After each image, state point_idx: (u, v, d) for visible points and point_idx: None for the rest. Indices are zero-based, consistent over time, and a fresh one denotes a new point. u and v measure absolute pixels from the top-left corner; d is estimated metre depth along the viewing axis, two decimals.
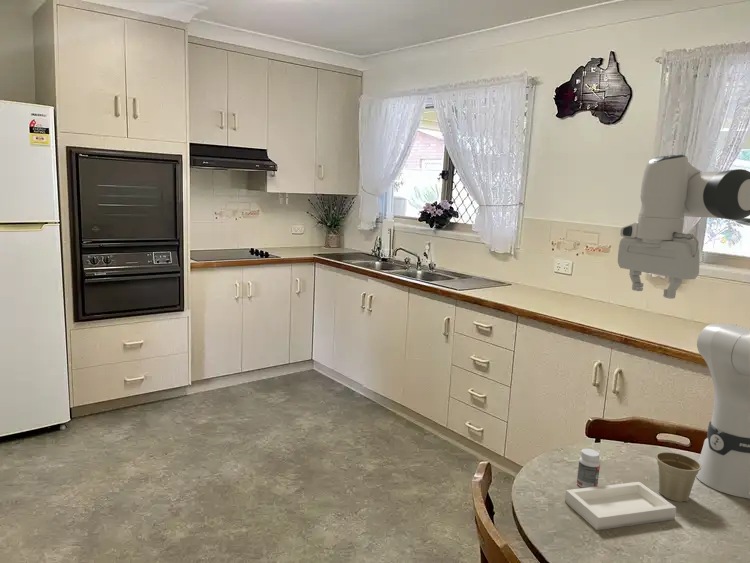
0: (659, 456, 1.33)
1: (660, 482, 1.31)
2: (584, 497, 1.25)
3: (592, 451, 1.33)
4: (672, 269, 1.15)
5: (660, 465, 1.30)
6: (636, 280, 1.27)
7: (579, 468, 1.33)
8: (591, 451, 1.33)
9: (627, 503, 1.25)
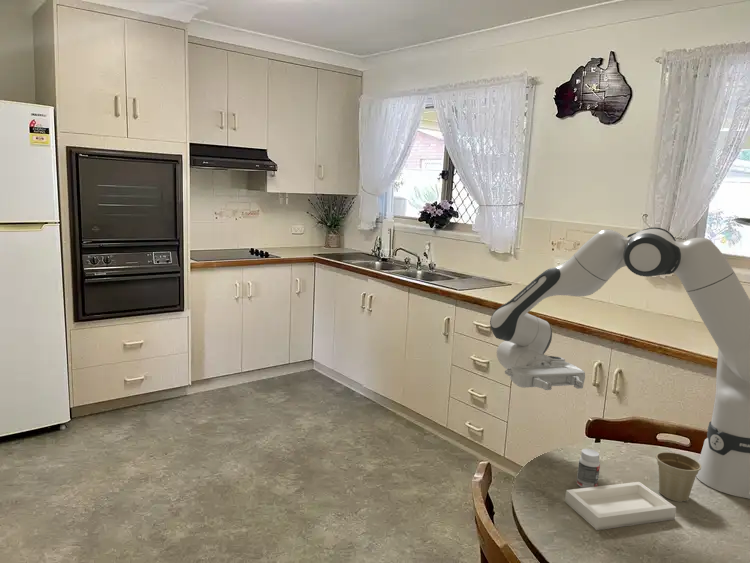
0: (659, 456, 1.33)
1: (660, 482, 1.31)
2: (584, 497, 1.25)
3: (592, 451, 1.33)
4: None
5: (660, 465, 1.30)
6: None
7: (579, 468, 1.33)
8: (591, 451, 1.33)
9: (627, 503, 1.25)
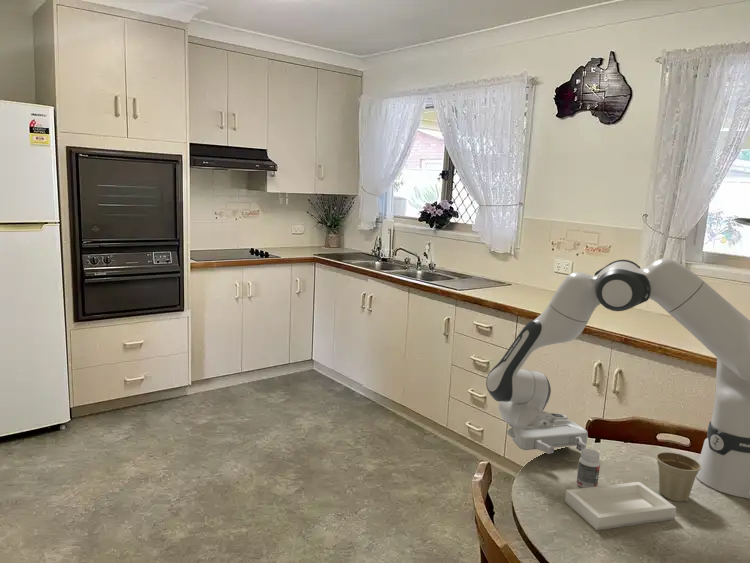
0: (659, 456, 1.33)
1: (660, 482, 1.31)
2: (584, 497, 1.25)
3: (592, 451, 1.33)
4: None
5: (660, 465, 1.30)
6: None
7: (579, 468, 1.33)
8: (591, 451, 1.33)
9: (627, 503, 1.25)
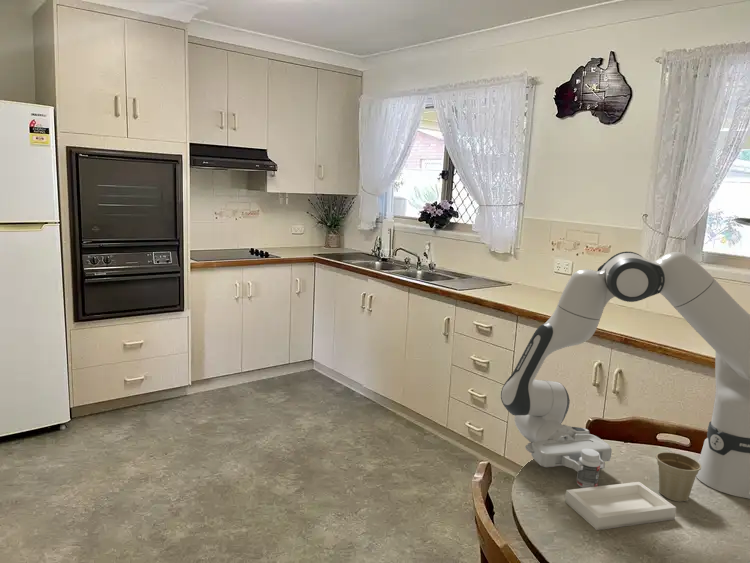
0: (659, 456, 1.33)
1: (660, 482, 1.31)
2: (584, 497, 1.25)
3: (592, 451, 1.33)
4: None
5: (660, 465, 1.30)
6: None
7: None
8: (591, 451, 1.33)
9: (627, 503, 1.25)
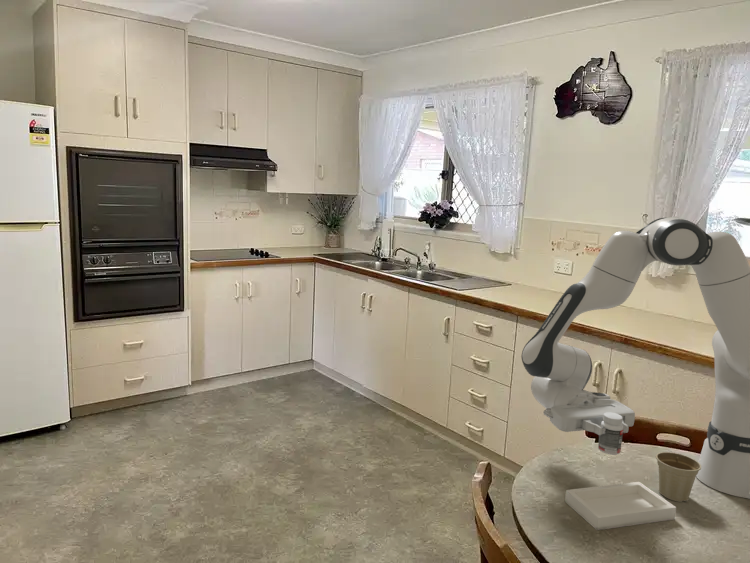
0: (659, 456, 1.33)
1: (660, 482, 1.31)
2: (584, 497, 1.25)
3: (615, 414, 1.26)
4: None
5: (660, 465, 1.30)
6: None
7: None
8: (614, 414, 1.26)
9: (627, 503, 1.25)
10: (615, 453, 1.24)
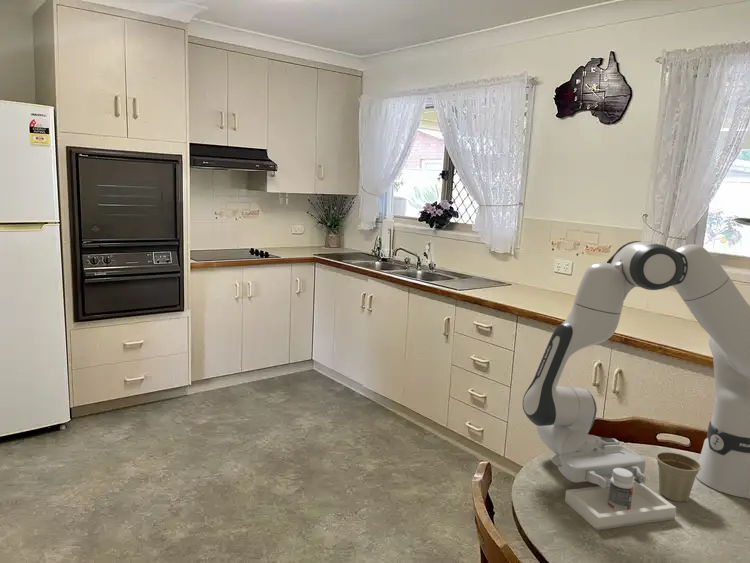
0: (659, 456, 1.33)
1: (660, 482, 1.31)
2: (584, 497, 1.25)
3: (624, 471, 1.22)
4: None
5: (660, 465, 1.30)
6: None
7: (610, 489, 1.22)
8: (623, 471, 1.22)
9: None
10: None
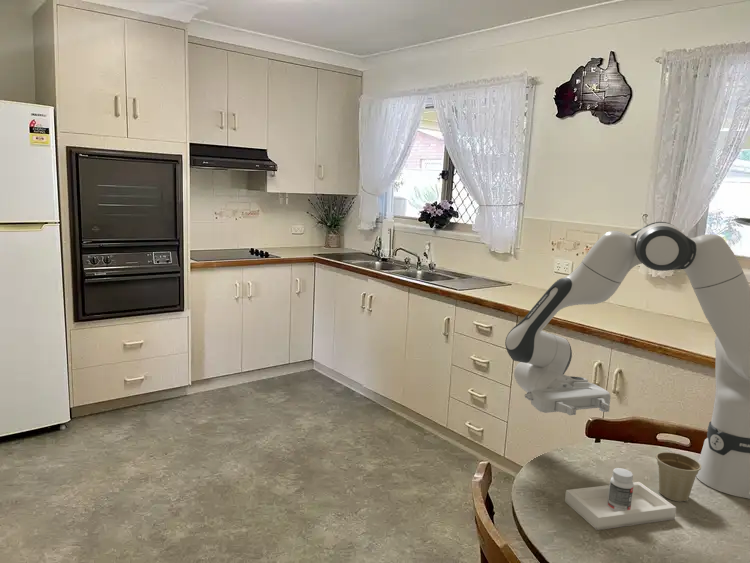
0: (659, 456, 1.33)
1: (660, 482, 1.31)
2: (584, 497, 1.25)
3: (625, 471, 1.22)
4: None
5: (660, 465, 1.30)
6: None
7: (611, 489, 1.22)
8: (624, 471, 1.22)
9: None
10: None
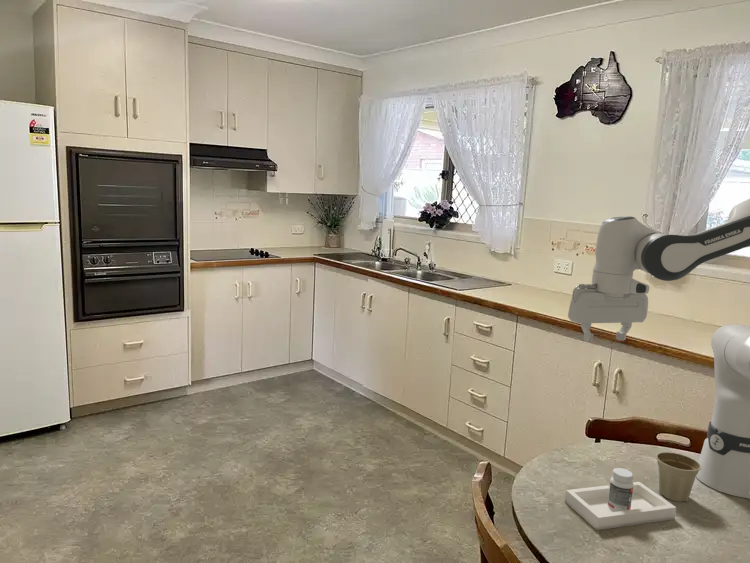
0: (659, 456, 1.33)
1: (660, 482, 1.31)
2: (584, 497, 1.25)
3: (625, 471, 1.22)
4: None
5: (660, 465, 1.30)
6: (622, 330, 1.37)
7: (610, 489, 1.22)
8: (623, 471, 1.22)
9: None
10: None
